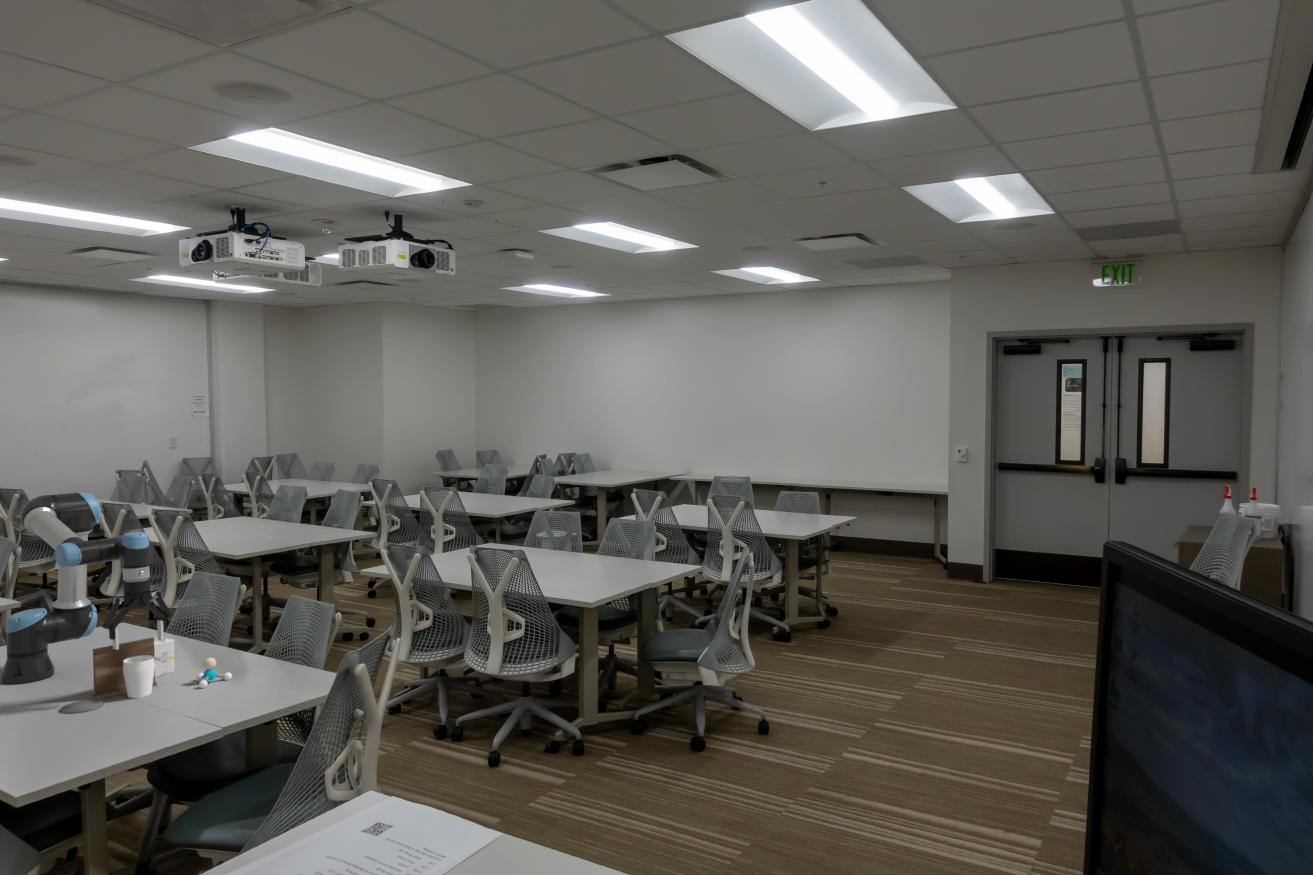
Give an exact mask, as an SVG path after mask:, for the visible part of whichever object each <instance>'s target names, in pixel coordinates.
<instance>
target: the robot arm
mask: <svg viewBox="0 0 1313 875" xmlns="http://www.w3.org/2000/svg"><path fill="white" fill-rule="evenodd" d="M97 499H98V498H96V497H95V495H94V494H93V493H91V492H69V493H68V492H67V493H56V494H44V495H41V496H40V495H38V496H36V497H34V498H32V499H31V500H29V501H28V502H27V503H26V504H25V505H24V506H23V507H22V508H21V512H20V515H19V519H20V523H21V525H22V526H23V527H24V529H25V530H27V531H28V532H29V533H31V534H36V535H37V536H38V537H39V538H41V539H42V540H43V541H44V542H45V543H47V544H48V545H49V546H50V547H51V548H52V549H53V550H54V551H55V552H54V555H55V556H54V557H55V561H56V563H57V565H58V568H57V599H56V600H55V601H54V602H53V603H52V604H51V605H52V606H51V607H52V608H51V610H47V609H46V608H45V607H36V608H30V609H24V610H22V611H19V612H15V613H13V614H11V615H10V616H8V618H6V621H5V630H4V631H5V634H6V635H5V636H6V637H5V639H6V642H5V643H6V660H5V664H4V667H3V669H2V672H1V676H0V677H1V679H0V680H1V683H2V684H7V685H15V684H16V685H18V684H19V685H20V684H28V683H33V682H38V681H42V680H45V679H49V678H50V677H52V676H54V675H55V666H54V664H53V662H52V660H51V658H50V657H51V656H50V655H49V652H48V645H51V644H55V643H62V642H65V641H66V642H67V641H72V640H78V639H79V640H80V639H82V638H85V637H88V636H90V635H92V633H93V632H94V631H95V629H96V626H97V623H98V613H97V612H98V611H97V608H96V606H95V605H94V604H93V603H92V602H91V600H90V599H89V598H88V597H87V579H88V578H87V576H88V575H87V574H88V572H87V570H88V565H90V564H91V565H92V564H97V563H106V562H113V561H122V580H123V581H124V582H123V583H122V586H123V597H112V602H111V606H110V608H109V611H108V613H107V615H106V617H105V619H104V621H103V623H102V625H101V627H102V628H103V629H106V630H108V633H109V634H108V636H109V639H110V640H112V645H113V649H116V650H118V649H119V644H120V640H119V628H117V627H118V626H119V624H120V623H121V622H122V620H123V619H124V618H125V617H126V616H127V614H128V613H129V612H130V611H131V610H137V609H139V608H140V609H144V608H145V607H146V608H147V609H148V610H150V612H152V613H153V614H154V615H155V616H157V618H158V619H157V620H156V624H157V625H156V626H157V628H156V629H157V635H158V637H157V638H158V640H161V641H162V640H164V636H165V635H164V630H166V629H167V620H168V619H169V618H171V617H172V616H173V613H172V612H171V610H170V609H169V607H168V606H167V604H166V602H165V600H164V599H163V597H162V593H161V591H158V590H154V591H153V592H151V580H150V579H149V578H150V577H151V576H150V575H151V574H150V572H151V571H150V542H149V535H148V533H147V532H145V531H137V532H136V531H133V532H126V533H123V534H122V535H118V536H111V537H109V538H100V539H93V540H92V539H91V540H88V539H89V538H88V537H89V535H90V533H91V532H92V531H93V530H94V525H96V524H98V523H99V522H100V519H101V515H102V514H101V508H100V504H99V502H98V500H97ZM151 598H153V599H154V600H155V602H156V603H157V605H158V607H159V609H161V611H162V612H161V611H160V610H159V609H158V608H157V607H156V606H155V605H153V603H152V602H151V601H150V600H151ZM122 602H123V604H124V605H123V606H122V607H121V609H120V611H119V612H118V609H119V607H120V605H121V604H122ZM117 612H118V614H117ZM116 614H117V615H116Z"/></svg>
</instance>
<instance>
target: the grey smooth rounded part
mask: <svg viewBox="0 0 1313 875" xmlns="http://www.w3.org/2000/svg"><path fill="white" fill-rule="evenodd" d="M103 705H104V701H103V700H101V699H87V700H86V699H85V700H79V701H75V702H71V703H68V704H65V705H63V706H62V707H61V708H60V712H61V713H63V714H66V715H67V714H68V715H69V714H72V715H73V714H80V713H81V714H82V713H87V712H91V711H95V710H97V709H99V708H101V707H102V706H103Z"/></svg>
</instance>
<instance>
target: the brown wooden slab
mask: <svg viewBox="0 0 1313 875" xmlns="http://www.w3.org/2000/svg"><path fill="white" fill-rule="evenodd" d="M150 637H151V636H150ZM150 637H147V638H141V639H138V640H137V639H136V640H132V641H127V642H123V643H119V649H118V650H116V649H113V644H112V645H108V646H102V647H97V648H92V662H93V663H92V664H93V665H92V666H93V669H92V670H93V693H92V698H94V699H95V700H101V699H105V698H106V699H107V698H110V697H115V696H117V695H121V694H127V689H126V684H125V679H124V674H123V661H124V660H125V659H127V658H130V657H135V656H142V655H151V656H154V638H152V637H151V638H150ZM154 662H155V656H154ZM157 684H158V683H157V681H156V677H155V669H154V677H153V685H152V687H156V686H158V685H157Z"/></svg>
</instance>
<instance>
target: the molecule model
mask: <svg viewBox="0 0 1313 875" xmlns="http://www.w3.org/2000/svg"><path fill="white" fill-rule="evenodd" d="M216 666H217V660H216V659H215V658H214V657H208V658H205V660H204V661H203V668H204V669H205V670H204V672H199V673H197V675H196V678H195V679H196V680H197V681H198V687H199V688H200V689H205V688H207V687H208V681H213V680H214V679H215V678H216V677H217V678H221V679H223V680H224V681H230V680H231V679H232V678H233V675H232V673H231V672H229V671H228V672H225V673H224V674H220V673H217V671H216V669H214V668H216Z"/></svg>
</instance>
